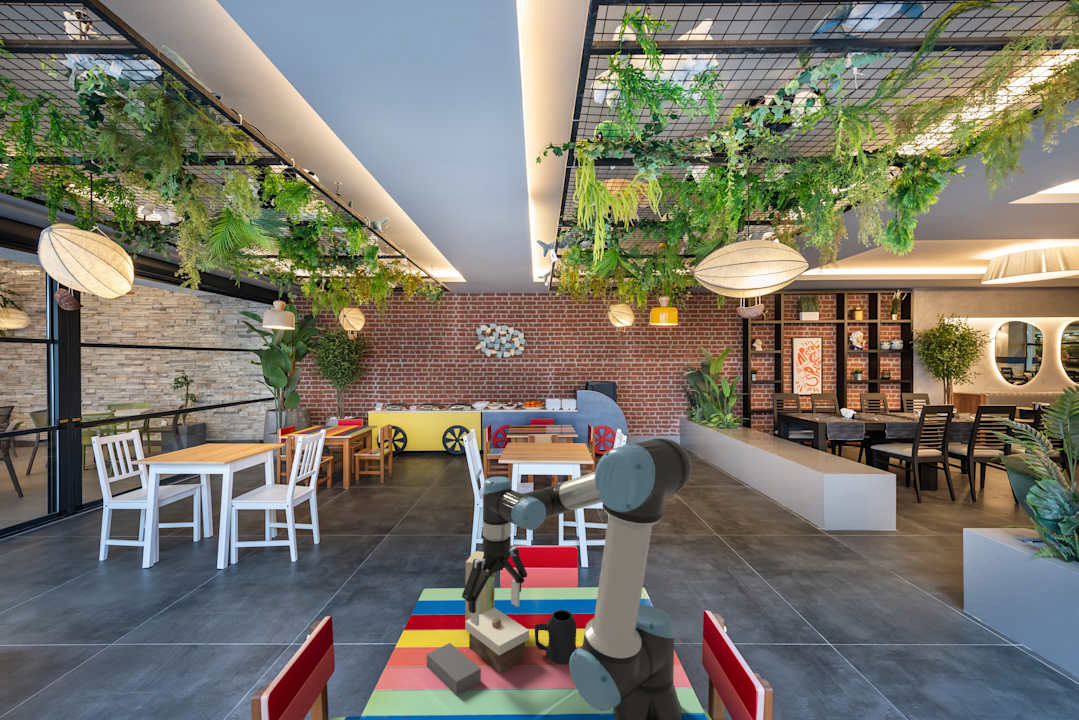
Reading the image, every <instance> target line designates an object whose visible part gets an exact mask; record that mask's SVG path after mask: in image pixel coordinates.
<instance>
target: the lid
mask: <svg viewBox="0 0 1079 720" xmlns="http://www.w3.org/2000/svg"><path fill="white" fill-rule="evenodd" d="M464 622H465V624H464V625H465V627H464V629H465V631H466V632H468V634H469V633H470V634H472V635H473V636H474V637H476V638H477V639H478V640H479V641H481V642H482V643H483V644H485V645H486V646H487V647H489V648H490V649H491V650H492V651H494V652H495V653H496V654H498V655H501V654H503V653H505V652H506V651H508V650H510V649H512V648H514V647H516V646H517V645H519V644H521V643H523V642H525V643H526V641H529V640H530V630H529V629H528V628H526V627H524V626H523V625H522V624H521V623H519V622H517V621H516V620H514V619H512V618H511V617H509V616H508V615H506V614H505V613H504V612H502V611H500V610H499V609H497V608H496V607H494V608H493V609H491V610H488V611H486V612H484V613H482V614H480V615H479V625H478V626H476V625H474V624H473V623H472V622H471V619H469V620H466V621H465V620H464Z"/></svg>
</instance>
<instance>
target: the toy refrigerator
mask: <svg viewBox="0 0 1079 720" xmlns="http://www.w3.org/2000/svg"><path fill="white" fill-rule="evenodd" d="M483 556H484V553H483V551H478V550H476V551H473V552H472V554H471V555H470V556H469V557H468V559H467V560H466V561H465V585H466V584H467V581H468V578H469V576H470V573H471V570H472V566H473V560H474V559H477V560H480V559H483ZM486 571H487V572H488V571H489V570H488V569H486ZM495 576H496V573H493V574H492V576H491V577H489V578H488V580H487V582H486V584H485V586H484V587H483V589H482V591H481V593H480V595H479V596H478V598H477V599H478V600H479V615H480V614H482V613H484V612H486V611H488V610H491V609H493V608H495ZM464 601H465V604H464V605H465V606H464V607H465V608H464V609H465V610H464V611H465V613H464V616H465V618H464V619H465V620H464V622H465V621H466V620H469V619H471V612H469V602H468V601H466V600H465V599H464Z"/></svg>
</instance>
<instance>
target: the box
mask: <svg viewBox="0 0 1079 720" xmlns="http://www.w3.org/2000/svg"><path fill="white" fill-rule="evenodd" d="M468 635H469V637H468V642H469V643H468V644H469V645H468V646H469V647H468V648H469V649H470V650H471V651H472V652H473V653H475V654H476V655H478V657H480V658H481V659H483V660H484V661H485V662H486V663H487V664H488V665H489V666H491V668H494V669H495V670H496V671H497V672H498V673H500V674H502V673H504V672H506V671H508V670H509V669H511V668H513V667H514V666H516V665H519V664H520V663H522V662H523V661H525V660H526V658H525V657H526V641H525V642H523V643H521V644H519V645H517V646H516V647H514V648H512V649H510V650H508V651H506V652H505V653H503V654H501V655H498V654H496V653H495V652H494V651H492V650H491V649H490V648H489V647H487V646H486V645H485V644H483V643H482V642H481V641H479V640H478V639H477V638H476V637H474V636H473V635H472V634H470V633H469V632H468Z"/></svg>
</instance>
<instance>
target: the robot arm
mask: <svg viewBox="0 0 1079 720" xmlns="http://www.w3.org/2000/svg"><path fill="white" fill-rule="evenodd" d="M692 464H693V463H692V460H691V457H690V455H689V453H688V452H687V449H686V448H684V447H683V446H682V445H681V444H680V443H678V442H677V441H675V440H672V439H671V438H670V439H669V438H665V437H664V438H663V437H662V438H661V437H660V438H653V439H649V440H646V441H640V442H639V441H638V442H635V443H624V444H621V445H619V446H617V447H614V448H612V449H610V450H608V451H606V452H605V453H604V454H603V455H602V456H601V458H600V459H599V460H598V463H597V465H596V468H595V471H593V472H592V471H591V472H590V473H586V474H584V475H583V474H582V475H580V476H577V477H575V478H571V479H569V480H567V481H566V480H565V481H563V482H560V483H557V484H555V485H551V486H547V487H544V488H540V489H535V490H533V491H529V492H523V493H521V492H518V491H516V490H514V489H513V486H512V485H513V484H512V480H511V479H510V477H509V478H508V477H506V476H492V477H488V478H486V479H485V480H484V483H483V492H482V518H483V519H482V535H483V537H482V552H483V553H484V556H483V559H480V560H477V559H474V560H473V566H472V570H471V573H470V576H469V578H468V581H467V584H466V583H465V587H464V588H463V592H462V595H461V598H462V599H463V600H464V601H465V600H466V601H468V602H469V612H471V622H472V623H473V624H474V625H476V626H478V625H479V600H478V599H477V598H478V596H479V595H480V593H481V591H482V589H483V587H484V586H485V584H486V582H487V580H488V578H489V577H491V576H492V574H493V573H495V574H496V573H497V572H499V571H503V570H504V569H505V570H506V571H507V572H508V574H509V575H510V576H511V577H512V578H513V579H511V581H510V582H511V584H510V585H511V586H510V587H511V588H510V589H511V590H510V593H511V594H510V597H511V598H510V604H512V605H513V606H515V607H517V608H518V607H520V593H521V592H522V584H523V583H524V582H525V579H526V578H527V577H528V573H527V572H528V571H527V570H526V568H525V566H524V564H523V561H522V559H521V557H520V551H519V548H518V547H516V546H514V545H511V544H512V543H511V542H512V537H511V533H512V524H513V525H515V526H517V527H519V528H522V529H525V530H528V531H535V530H537V529H539V527H540V526H541V525H543V524H544V522H545V520H546V519H548V518H551V517H554V516H555V517H556V516H558V515H561V514H566V513H569V512H572V511H576V510H578V509H582V508H586V507H589V506H594V505H597V504H600V503H602V509H603V511H604V512H605V513H606V514H607V516H608V518H607V524H606V533H605V539H604V546H603V547H604V548H603V554H602V561H601V569H600V576H599V581H598V582H599V583H598V589H597V597H596V603H595V610H594V617H593V618H591V619H590V620H589V621H588V622H587V623H586V625H585V629H584V635H583V641H582V645H581V646H580V647H578V648H577V649H576V650H575V652H573V653H572V655H571V657H570V661H569V664H568V667H569V669H568V670H569V673H570V677H571V680H572V682H573V684H574V686H575V689H576V691H577V692H578V694H579V695H580V697H581V698H582V700H584V702H586V704H588V705H589V706H590V707H591V708H592V709H595V710H597V711H599V712H604V711H605V712H607V711H610V710H611V709H612V712H613V715H614V717H615V719H616V720H682V706H681V703H680V700H679V697H678V694H677V690H676V687H675V682H674V670H675V669H674V666H675V665H674V664H675V638H676V635H675V627H674V621H673V619H672V617H670V615H669V614H668V613H667V612H665V611H664V610H663V609H662V610H661V609H659V608H658V607H656V606H655V607H654V606H652V605H648V604H643V603H641V600H642V599H641V598H642V593H643V586H644V582H645V581H644V580H645V573H646V567H647V561H648V555H649V548H650V542H651V541H650V540H651V536H652V529H653V526H655V525H656V524H657V523H659V522H660V521H661V520H662V517H663V511H664V505H665V498H667V497H670V496H672V495H675V494H676V493H678V492H680V491H682V490H683V489H684V488H685V487H686V486H687V485H688V483H689V481H690V479H691V476H692V472H693V471H692V470H693V466H692ZM510 557H511V559H512V562H513V565H514V566H515V568H514V567H513V566H512V564H511V563H510V561H509V558H510ZM486 569H488V570H489V571H488V572H487V571H486Z"/></svg>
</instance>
